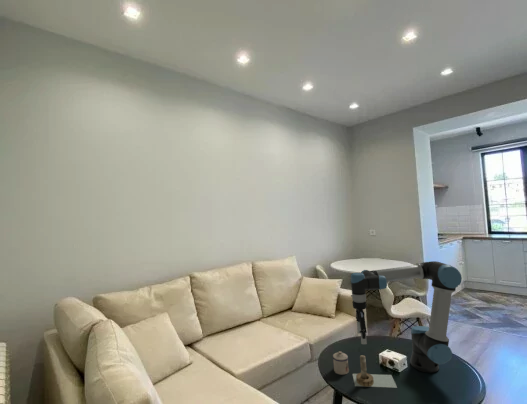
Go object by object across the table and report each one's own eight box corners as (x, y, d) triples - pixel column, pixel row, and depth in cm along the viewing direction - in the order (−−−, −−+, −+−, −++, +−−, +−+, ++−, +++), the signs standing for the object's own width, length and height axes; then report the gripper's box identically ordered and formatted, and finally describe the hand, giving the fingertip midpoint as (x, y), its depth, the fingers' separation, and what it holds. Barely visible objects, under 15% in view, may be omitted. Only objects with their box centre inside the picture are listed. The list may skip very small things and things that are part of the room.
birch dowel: (366, 380, 164) (365, 355, 165) (367, 383, 161) (365, 358, 162) (361, 379, 165) (359, 355, 165) (362, 383, 162) (360, 357, 162)
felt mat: (391, 375, 168) (391, 374, 168) (397, 388, 156) (397, 387, 156) (352, 374, 172) (352, 373, 172) (355, 386, 160) (355, 386, 160)
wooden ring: (371, 377, 167) (371, 372, 167) (375, 386, 158) (374, 382, 158) (355, 376, 168) (355, 372, 168) (358, 386, 159) (357, 381, 160)
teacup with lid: (349, 375, 170) (348, 355, 170) (334, 375, 172) (332, 355, 172) (348, 364, 182) (346, 346, 182) (333, 364, 184) (331, 345, 184)
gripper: (349, 294, 177) (352, 329, 177) (355, 308, 153) (358, 348, 152) (362, 294, 176) (364, 329, 175) (370, 308, 152) (373, 349, 151)
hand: (362, 338), depth 164 cm, fingers open, 13 cm apart
